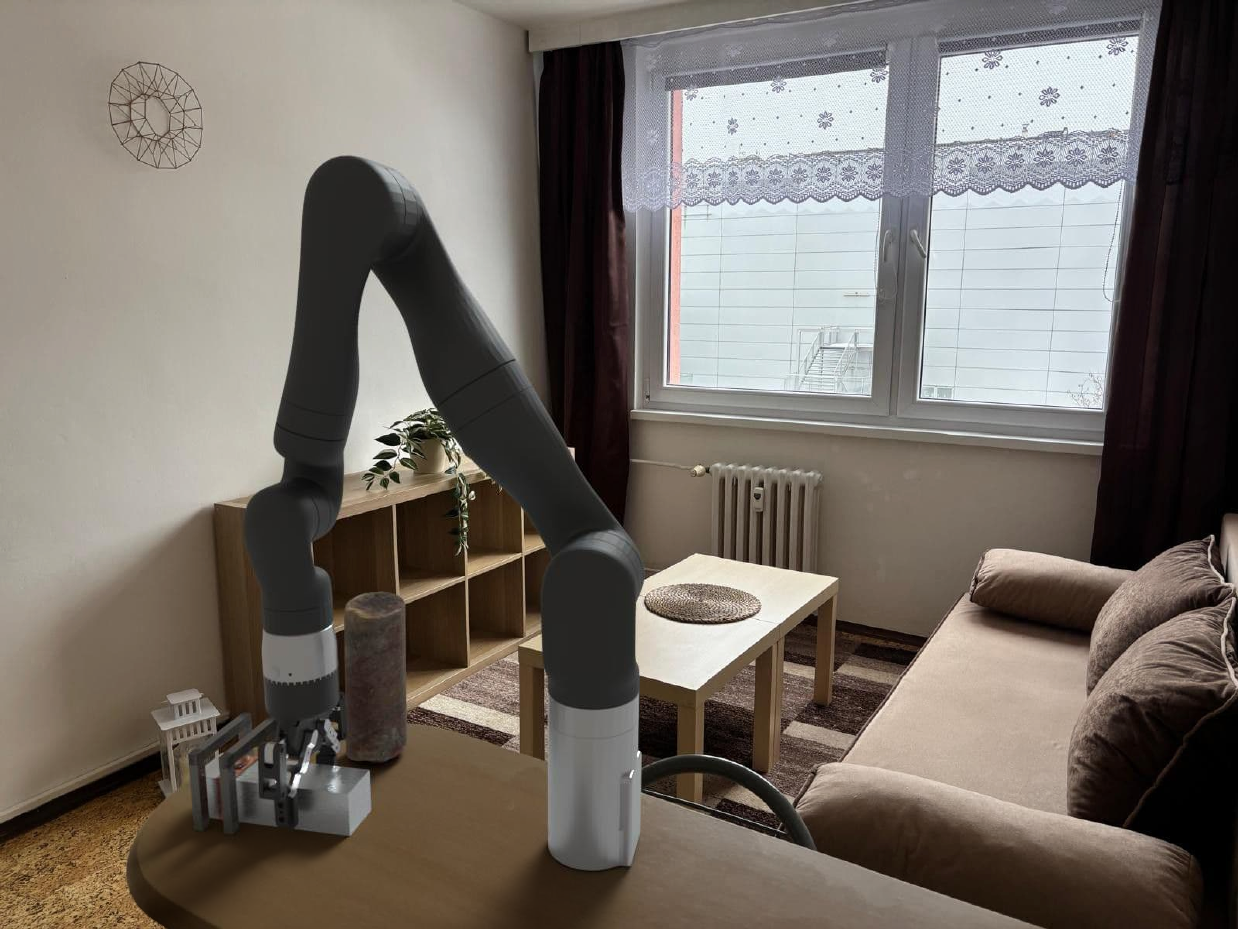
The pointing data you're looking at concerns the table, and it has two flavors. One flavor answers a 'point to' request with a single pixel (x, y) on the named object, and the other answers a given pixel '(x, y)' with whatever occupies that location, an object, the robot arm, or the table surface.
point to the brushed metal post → (298, 796)
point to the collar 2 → (228, 770)
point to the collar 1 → (197, 765)
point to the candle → (375, 677)
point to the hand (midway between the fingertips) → (308, 804)
